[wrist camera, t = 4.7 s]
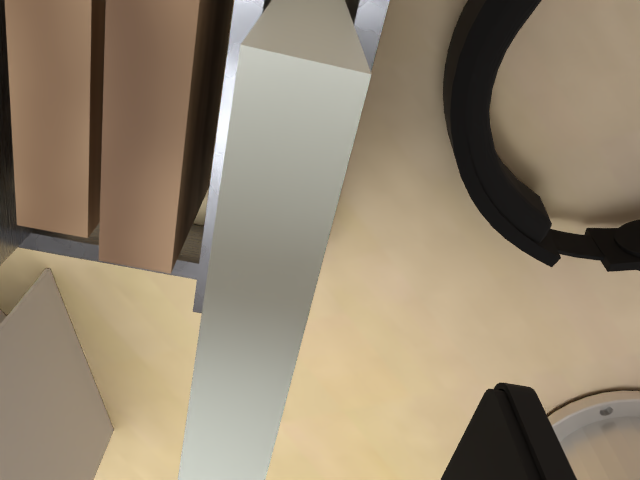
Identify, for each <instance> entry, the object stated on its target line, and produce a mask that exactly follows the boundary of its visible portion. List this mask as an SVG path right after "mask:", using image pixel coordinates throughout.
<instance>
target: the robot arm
mask: <svg viewBox="0 0 640 480" xmlns="http://www.w3.org/2000/svg"><path fill="white" fill-rule="evenodd" d="M441 480H640V391H614V392H606V393H601V394H596V395H592V396H588V397H585V398H583V399H580V400H577V401H575V402H572V403H570V404H568V405H566V406H564V407H562V408H561V409H559V410H557V411H555V412H554V413H552V414H551V415H550V416H548V417H547V415H546V413H545V411H544V408H543V406H542V404H541V402H540V400H539V398H538V396H537V394H536V392H535V391H534V389H532V388H531V387H526V386H520V385H514V384H508V383H499V384H497V385H496V386H495V388H494V389H488V390H486V392H485V393H484V395H483V397H482V399H481V401H480V403H479V405H478V407H477V409H476V411H475V413H474V415H473V417H472V419H471V421H470V423H469V425H468V427H467V429H466V431H465V433H464V435H463V437H462V438H461V440H460V442H459V444H458V446H457V448H456V450H455V452H454V454H453V456H452V458H451V460H450V462H449V464H448V466H447V468H446V470H445V472H444V474H443V476H442V478H441Z"/></svg>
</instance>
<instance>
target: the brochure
mask: <svg viewBox="0 0 640 480" xmlns="http://www.w3.org/2000/svg"><path fill="white" fill-rule="evenodd" d="M113 431H114V429H113V426H112V424H111V421H110V419H109V416H108V414H107V411H106V409H105V406H104V404H103V401H102V399H101V396H100V394H99V391H98V389H97V386H96V383H95V381H94V378H93V376H92V373H91V371H90V368H89V366H88V363H87V361H86V358H85V356H84V353H83V351H82V348H81V346H80V343H79V341H78V338H77V336H76V333H75V330H74V328H73V325H72V323H71V320H70V318H69V315H68V313H67V310H66V308H65V305H64V303H63V300H62V298H61V295H60V293H59V290H58V288H57V285H56V283H55V280H54V278H53V275H52V272H51V270H50V269H45V270H44V271H43V272H42V274H41V275H40V276H39V277H38V279H37V280H36V281H35V282H34V284H33V285H32V286H31V287H30V288H29V290H28V291H27V292H26V293H25V295H24V296H23V297H22V298H21V300H20V301H19V302H18V303H17V304H16V306H15V307H14V308H13V309H12V311H11V312H10V313H9V314H8V315H7V316H6V315H5V314H4V313H3V312H2V311H1V310H0V480H94V477H95V475H96V472H97V470H98V467H99V465H100V463H101V460H102V458H103V455H104V453H105V450H106V448H107V446H108V443H109V441H110V438H111V436H112V434H113Z"/></svg>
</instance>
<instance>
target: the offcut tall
mask: <svg viewBox="0 0 640 480" xmlns="http://www.w3.org/2000/svg"><path fill="white" fill-rule="evenodd" d="M232 7H233V0H106V12H105V48H104V84H103V120H102V156H101V192H100V228H99V261H104V262H109V263H115V264H120V265H126V266H131V267H137V268H142V269H148V270H153V271H159V272H164V273H170V274H171V272H172V270H173V268H174V265H175V263H176V261H177V259H178V256H179V254H180V252H181V249H182V247H183V245H184V243H185V240H186V238H187V236H188V233H189V231H190V229H191V227H192V224H193V222H194V220H195V217H196V215H197V213H198V211H199V208H200V206H201V204H202V201H203V199H204V197H205V195H206V192H207V190H208V188H209V180H210V173H211V165H212V158H213V150H214V143H215V135H216V128H217V120H218V112H219V105H220V97H221V90H222V82H223V75H224V67H225V60H226V52H227V45H228V37H229V30H230V22H231V14H232Z"/></svg>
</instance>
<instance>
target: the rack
mask: <svg viewBox="0 0 640 480" xmlns="http://www.w3.org/2000/svg"><path fill="white" fill-rule="evenodd" d="M271 1H272V0H234V7H233V15H232V22H231V30H230V37H229V45H228V52H227V60H226V67H225V75H224V82H223V90H222V97H221V105H220V112H219V119H218V127H217V134H216V142H215V149H214V157H213V164H212V172H211V179H210V187H209V194H208V202H207V209H206V217H205V224H204V226H199V225H194V224H192V227H191V229H190V231H189V233H188V236H187V238H186V240H185V243H184V245H183V247H182V249H181V252H180V254H179V256H178V259H177V261H176V263H175V265H174V268H173V270H172V272H171V274H170V273H164V272H159V271H153V270H148V269H142V268H137V267H131V266H126V265H120V264H115V263H109V262H104V261H99V228H100V223H99V224H98V225H97V226H96V228H95V229H94V230H93V232H92V233H91V234H90V236H89V237H88V238H84V237H79V236H73V235H68V234H62V233H57V232H52V231H46V230H41V229H35V228H30V227H25V226H19V225H17V216H16V198H15V180H14V162H13V144H12V126H11V107H10V89H9V71H8V53H7V35H6V17H5V0H0V265H1V264H2V263H3V262H4V261H5V260H6V259H7V258H8V257H9V256H10V254H11V253H12V252H13V251H14V250H15V249H16V248H17V247H19V248H25V249H30V250H36V251H42V252H47V253H53V254H58V255H64V256H69V257H75V258H80V259H86V260H91V261H97V262H102V263H108V264H113V265H119V266H125V267H130V268H136V269H141V270H147V271H152V272H158V273H163V274H169V275H174V276H180V277H185V278H191V279H197V284H196V292H195V299H194V307H193V312H197V313H202V309H203V302H204V295H205V288H206V281H207V274H208V267H209V260H210V253H211V246H212V239H213V232H214V225H215V218H216V211H217V204H218V197H219V191H220V184H221V177H222V170H223V163H224V156H225V149H226V142H227V135H228V128H229V121H230V114H231V107H232V100H233V93H234V86H235V79H236V72H237V65H238V58H239V51H240V45H241V43H242V42H243V40H244V39H245V38H246V36H247V35H248V33H249V32H250V30H251V29H252V28H253V26H254V25H255V23H256V22H257V21H258V19H259V18H260V16H261V15H262V13H263V12H264V11H265V9H266V8H267V6H268V5H269V4H270V2H271ZM389 1H390V0H345V2H346V5H347V8H348V10H349V13H350V16H351V19H352V21H353V24H354V27H355V30H356V33H357V35H358V38H359V41H360V44H361V46H362V49H363V52H364V55H365V58H366V60H367V63H368V66H369V69H370V72H371V70H372V66H373V63H374V59H375V55H376V51H377V47H378V44H379V40H380V36H381V32H382V28H383V24H384V21H385V17H386V13H387V9H388V5H389Z"/></svg>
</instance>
